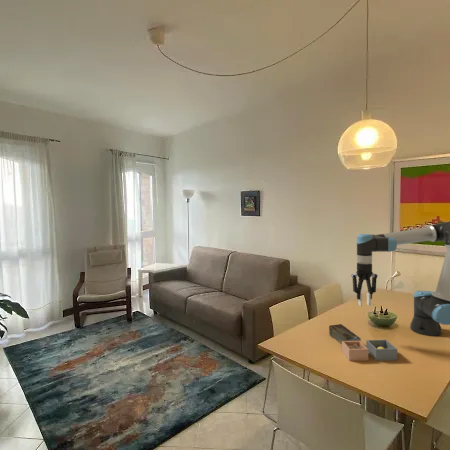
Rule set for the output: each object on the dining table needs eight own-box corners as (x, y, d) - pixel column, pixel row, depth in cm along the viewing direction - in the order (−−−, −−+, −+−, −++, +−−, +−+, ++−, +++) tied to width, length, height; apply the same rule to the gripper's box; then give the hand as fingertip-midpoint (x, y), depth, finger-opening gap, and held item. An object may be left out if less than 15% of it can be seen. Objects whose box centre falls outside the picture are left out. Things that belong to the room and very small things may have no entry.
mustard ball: (383, 353, 150) (383, 345, 150) (387, 357, 146) (387, 349, 146) (375, 353, 150) (375, 345, 150) (379, 357, 146) (379, 349, 146)
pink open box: (359, 352, 152) (359, 340, 152) (368, 361, 144) (368, 349, 143) (342, 352, 153) (341, 341, 152) (349, 362, 144) (349, 349, 143)
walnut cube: (355, 353, 151) (355, 344, 150) (361, 357, 146) (361, 348, 146) (347, 354, 150) (347, 345, 149) (353, 358, 145) (353, 349, 145)
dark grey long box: (347, 351, 155) (347, 338, 154) (328, 335, 174) (328, 324, 173) (361, 349, 156) (361, 337, 156) (341, 334, 175) (341, 323, 174)
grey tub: (386, 351, 153) (386, 339, 153) (397, 361, 143) (397, 348, 143) (366, 351, 153) (366, 340, 153) (376, 361, 143) (376, 349, 143)
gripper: (376, 260, 167) (376, 302, 168) (345, 261, 167) (346, 303, 168) (383, 263, 159) (383, 306, 161) (351, 264, 160) (351, 307, 161)
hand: (364, 305), depth 165 cm, fingers open, 4 cm apart
